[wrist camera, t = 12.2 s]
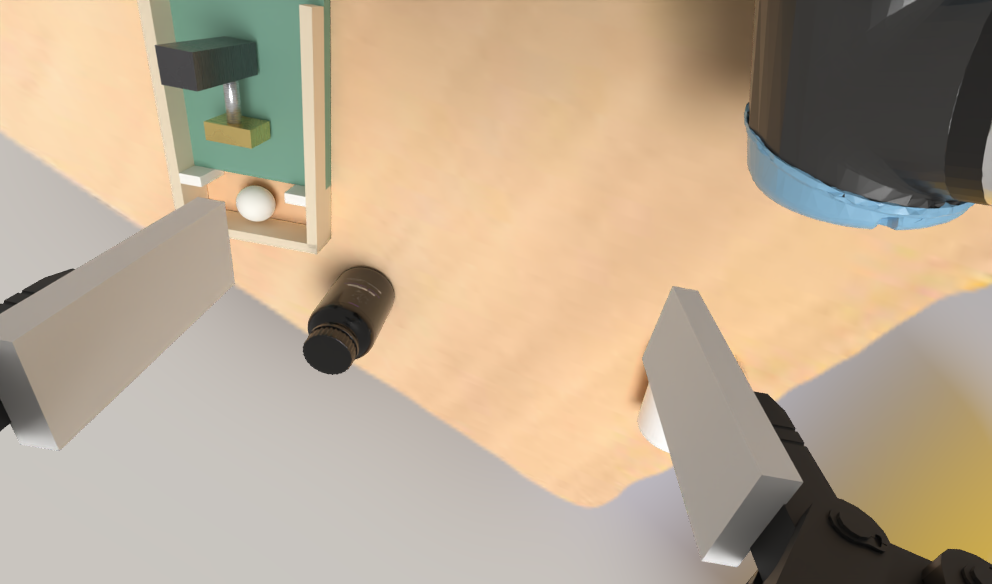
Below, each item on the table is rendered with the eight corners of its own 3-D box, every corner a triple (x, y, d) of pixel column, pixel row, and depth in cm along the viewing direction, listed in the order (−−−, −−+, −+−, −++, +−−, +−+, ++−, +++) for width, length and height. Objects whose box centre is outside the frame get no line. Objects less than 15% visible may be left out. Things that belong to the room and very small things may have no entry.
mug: (631, 402, 62) (643, 452, 56) (651, 339, 57) (667, 385, 50) (726, 412, 62) (749, 464, 55) (754, 351, 57) (784, 399, 50)
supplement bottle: (384, 260, 54) (349, 321, 44) (402, 311, 58) (374, 379, 47) (327, 269, 55) (280, 331, 45) (348, 319, 59) (308, 387, 48)
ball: (250, 202, 52) (241, 175, 49) (284, 208, 52) (277, 181, 49) (235, 225, 50) (224, 198, 47) (270, 231, 50) (262, 205, 47)
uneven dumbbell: (217, 34, 42) (144, 42, 34) (264, 43, 42) (202, 54, 34) (228, 130, 46) (165, 157, 38) (270, 138, 46) (216, 167, 38)
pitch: (160, -56, 40) (125, -61, 37) (330, -22, 41) (311, -23, 37) (201, 213, 53) (178, 228, 49) (331, 237, 53) (317, 254, 50)
